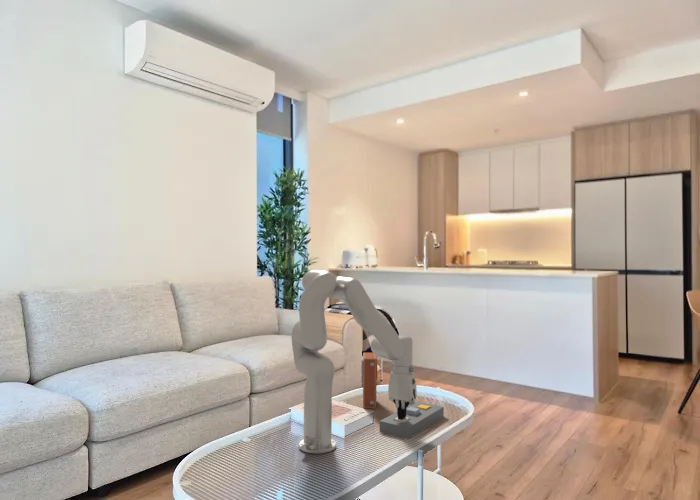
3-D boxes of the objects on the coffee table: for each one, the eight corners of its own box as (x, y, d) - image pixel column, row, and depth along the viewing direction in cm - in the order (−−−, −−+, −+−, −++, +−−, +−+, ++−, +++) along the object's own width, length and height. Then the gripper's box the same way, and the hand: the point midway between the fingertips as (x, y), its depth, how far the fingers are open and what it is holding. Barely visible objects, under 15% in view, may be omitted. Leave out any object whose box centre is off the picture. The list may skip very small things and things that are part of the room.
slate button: (415, 419, 186) (415, 411, 186) (406, 417, 188) (406, 409, 188) (420, 416, 189) (420, 408, 189) (410, 414, 191) (411, 406, 191)
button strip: (408, 439, 173) (408, 427, 173) (379, 431, 180) (379, 420, 180) (443, 416, 197) (443, 406, 197) (417, 411, 204) (417, 401, 204)
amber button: (425, 416, 193) (425, 408, 193) (416, 414, 195) (416, 406, 195) (430, 413, 196) (430, 406, 196) (421, 411, 198) (421, 404, 198)
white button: (403, 429, 178) (403, 421, 178) (394, 426, 181) (394, 418, 181) (408, 426, 181) (409, 418, 181) (399, 423, 184) (399, 415, 184)
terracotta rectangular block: (376, 399, 221) (377, 409, 206) (360, 398, 221) (361, 409, 206) (376, 352, 221) (377, 358, 206) (361, 351, 221) (361, 358, 206)
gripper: (424, 370, 180) (424, 419, 180) (390, 364, 189) (389, 411, 188) (415, 374, 174) (414, 425, 174) (379, 368, 183) (379, 416, 182)
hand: (401, 418), depth 181 cm, fingers closed
